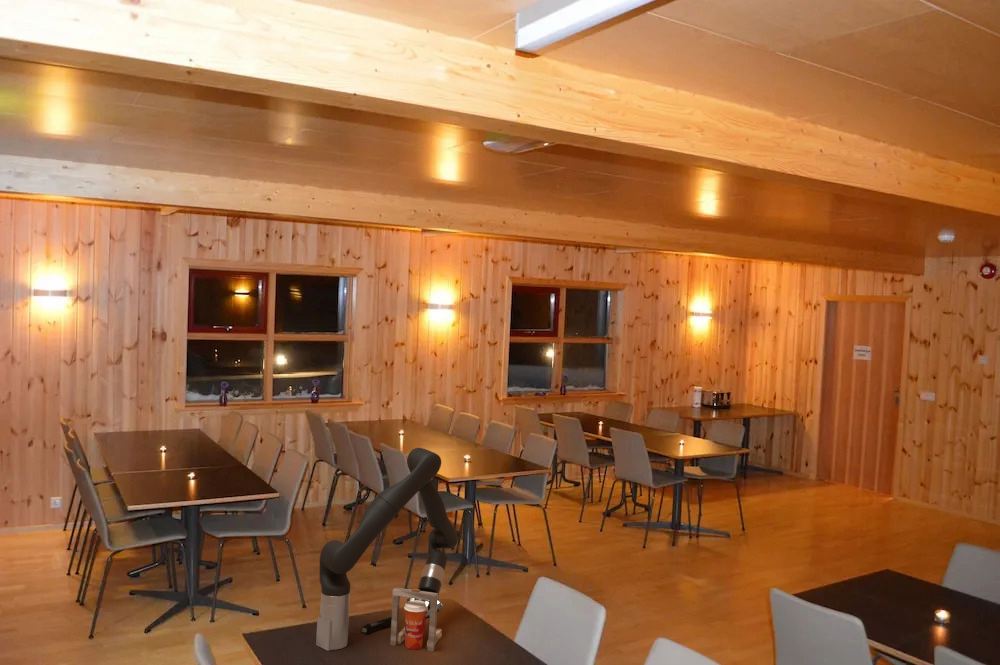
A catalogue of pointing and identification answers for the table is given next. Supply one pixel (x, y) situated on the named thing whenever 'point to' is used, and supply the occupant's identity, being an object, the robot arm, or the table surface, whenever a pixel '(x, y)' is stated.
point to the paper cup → (414, 623)
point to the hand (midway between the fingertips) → (417, 628)
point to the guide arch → (398, 638)
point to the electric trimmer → (376, 625)
